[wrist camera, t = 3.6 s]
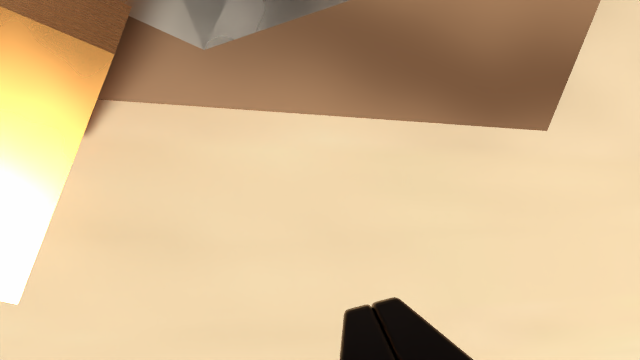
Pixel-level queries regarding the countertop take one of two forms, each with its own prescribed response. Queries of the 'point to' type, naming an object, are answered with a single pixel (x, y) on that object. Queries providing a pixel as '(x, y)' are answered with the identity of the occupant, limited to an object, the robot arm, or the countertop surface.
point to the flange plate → (82, 93)
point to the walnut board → (372, 63)
